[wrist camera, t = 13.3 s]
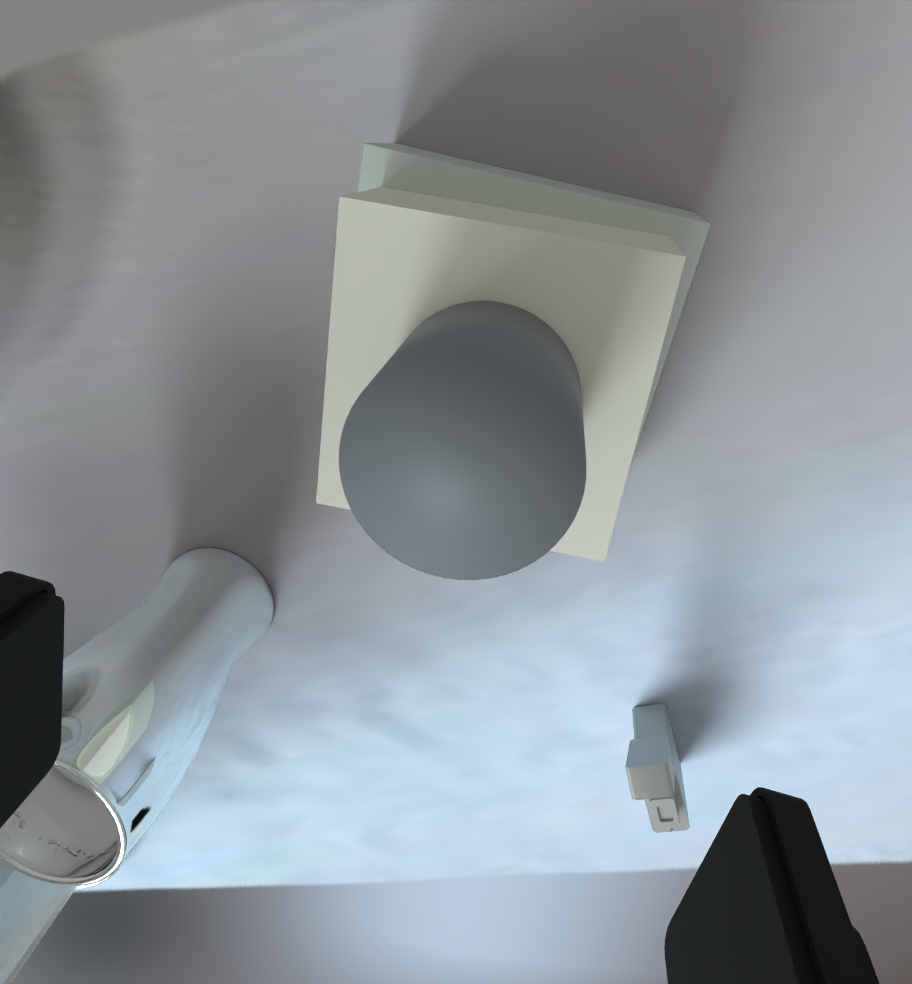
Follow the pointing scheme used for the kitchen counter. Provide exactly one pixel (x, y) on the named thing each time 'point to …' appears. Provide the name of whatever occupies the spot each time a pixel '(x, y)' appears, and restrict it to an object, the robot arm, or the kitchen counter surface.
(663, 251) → the tower top block
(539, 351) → the cylinder
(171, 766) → the beer glass
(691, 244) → the tower bottom block
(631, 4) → the kitchen counter surface
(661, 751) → the lighter
